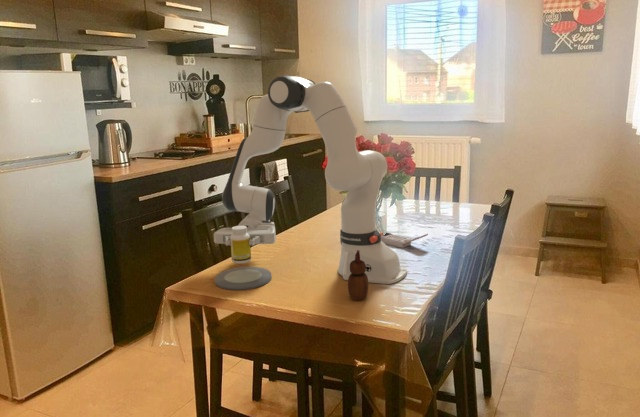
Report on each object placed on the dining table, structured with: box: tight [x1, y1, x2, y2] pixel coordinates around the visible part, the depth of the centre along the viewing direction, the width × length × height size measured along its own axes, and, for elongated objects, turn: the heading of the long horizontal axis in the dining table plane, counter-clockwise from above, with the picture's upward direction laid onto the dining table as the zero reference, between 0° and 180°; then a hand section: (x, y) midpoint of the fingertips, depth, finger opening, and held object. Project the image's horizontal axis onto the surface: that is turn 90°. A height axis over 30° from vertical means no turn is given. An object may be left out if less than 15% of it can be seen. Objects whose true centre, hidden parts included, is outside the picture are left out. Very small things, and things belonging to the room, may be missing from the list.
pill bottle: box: [229, 225, 252, 264], centre depth 169 cm, size 6×6×11 cm
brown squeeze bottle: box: [347, 250, 369, 301], centre depth 151 cm, size 7×6×15 cm
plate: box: [214, 266, 272, 291], centre depth 171 cm, size 18×18×1 cm
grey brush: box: [381, 232, 429, 248], centre depth 202 cm, size 6×6×25 cm
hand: (239, 243), depth 168 cm, fingers closed on pill bottle, 6 cm apart
